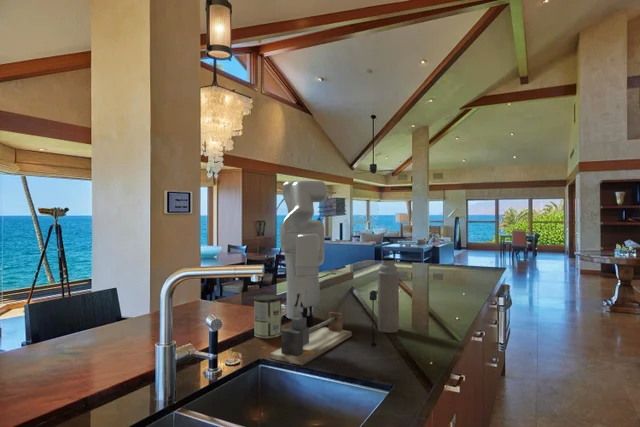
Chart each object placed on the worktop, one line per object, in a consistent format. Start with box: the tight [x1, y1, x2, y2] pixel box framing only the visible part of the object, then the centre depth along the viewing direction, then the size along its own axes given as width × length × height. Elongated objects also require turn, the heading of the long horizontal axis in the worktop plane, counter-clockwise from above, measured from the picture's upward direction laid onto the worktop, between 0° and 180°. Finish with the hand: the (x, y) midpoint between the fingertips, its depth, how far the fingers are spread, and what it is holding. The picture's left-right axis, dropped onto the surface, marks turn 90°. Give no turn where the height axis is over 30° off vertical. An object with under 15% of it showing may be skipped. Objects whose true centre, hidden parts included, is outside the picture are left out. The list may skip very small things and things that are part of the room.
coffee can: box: [253, 293, 283, 339], centre depth 150 cm, size 10×10×14 cm
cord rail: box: [269, 311, 353, 366], centre depth 136 cm, size 12×34×8 cm, turn 150°
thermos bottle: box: [377, 256, 400, 334], centre depth 156 cm, size 8×8×28 cm
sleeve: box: [288, 316, 310, 346], centre depth 128 cm, size 5×4×8 cm
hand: (307, 326), depth 132 cm, fingers closed
